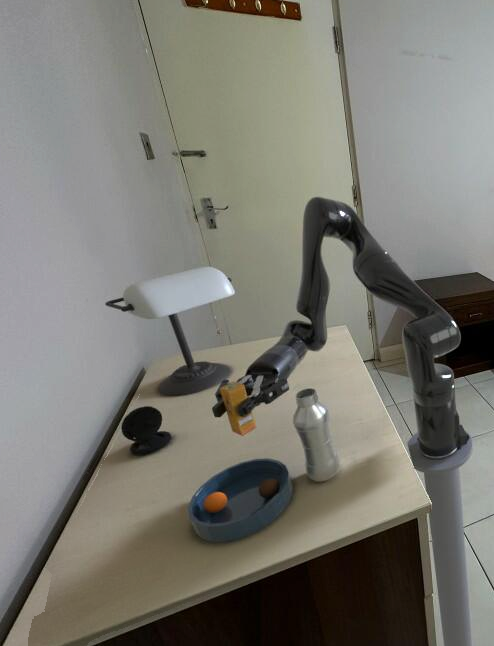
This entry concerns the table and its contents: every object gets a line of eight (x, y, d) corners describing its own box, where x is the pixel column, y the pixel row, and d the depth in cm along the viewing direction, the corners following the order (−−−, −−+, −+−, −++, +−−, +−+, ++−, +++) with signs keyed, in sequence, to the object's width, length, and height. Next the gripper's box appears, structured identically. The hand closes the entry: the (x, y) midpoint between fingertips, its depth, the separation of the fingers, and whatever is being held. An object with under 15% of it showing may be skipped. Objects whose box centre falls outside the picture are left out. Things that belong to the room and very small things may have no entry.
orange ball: (231, 499, 77) (226, 485, 75) (227, 514, 74) (221, 499, 72) (209, 505, 76) (203, 491, 74) (204, 520, 72) (198, 505, 71)
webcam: (157, 432, 97) (142, 397, 93) (180, 436, 95) (166, 401, 91) (122, 453, 90) (104, 417, 86) (146, 459, 88) (129, 422, 84)
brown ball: (282, 486, 80) (278, 472, 78) (280, 499, 77) (276, 485, 75) (262, 491, 78) (258, 477, 77) (259, 505, 75) (254, 490, 74)
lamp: (177, 416, 103) (127, 293, 90) (128, 394, 113) (76, 280, 99) (269, 369, 125) (240, 264, 111) (221, 354, 135) (189, 256, 121)
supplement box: (258, 426, 80) (245, 384, 76) (242, 437, 77) (227, 393, 73) (248, 422, 81) (235, 380, 77) (231, 431, 78) (216, 389, 74)
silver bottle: (348, 465, 85) (331, 386, 77) (327, 489, 79) (306, 406, 72) (323, 459, 87) (305, 381, 79) (301, 482, 81) (278, 400, 73)
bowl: (295, 464, 86) (291, 450, 84) (288, 524, 72) (283, 508, 70) (208, 486, 81) (202, 471, 79) (182, 555, 67) (174, 539, 65)
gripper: (238, 353, 88) (183, 397, 72) (302, 351, 88) (261, 395, 72) (247, 381, 91) (196, 430, 75) (309, 380, 91) (271, 428, 75)
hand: (228, 413), depth 74 cm, fingers closed on supplement box, 4 cm apart
